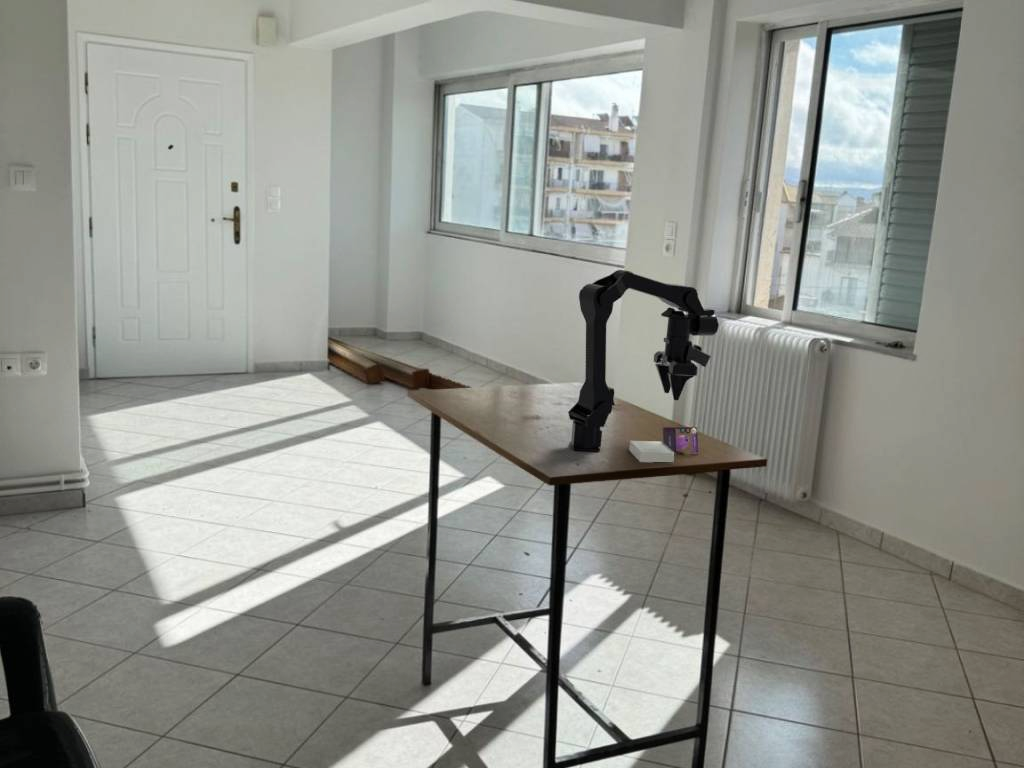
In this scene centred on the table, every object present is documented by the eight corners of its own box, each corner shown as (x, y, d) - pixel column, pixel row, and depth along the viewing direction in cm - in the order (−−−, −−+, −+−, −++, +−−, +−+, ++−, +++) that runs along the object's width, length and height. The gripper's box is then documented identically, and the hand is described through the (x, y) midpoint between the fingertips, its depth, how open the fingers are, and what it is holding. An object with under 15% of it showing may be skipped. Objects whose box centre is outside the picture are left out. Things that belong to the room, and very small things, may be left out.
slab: (640, 462, 221) (641, 451, 220) (629, 450, 230) (630, 440, 230) (673, 463, 222) (674, 452, 221) (661, 451, 232) (662, 441, 231)
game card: (664, 426, 229) (698, 427, 232) (655, 428, 234) (688, 428, 237) (665, 454, 228) (699, 454, 231) (656, 455, 233) (689, 455, 236)
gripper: (721, 343, 228) (713, 406, 231) (697, 332, 246) (690, 390, 249) (676, 340, 227) (669, 404, 230) (656, 329, 245) (649, 388, 248)
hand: (671, 396), depth 239 cm, fingers open, 8 cm apart
